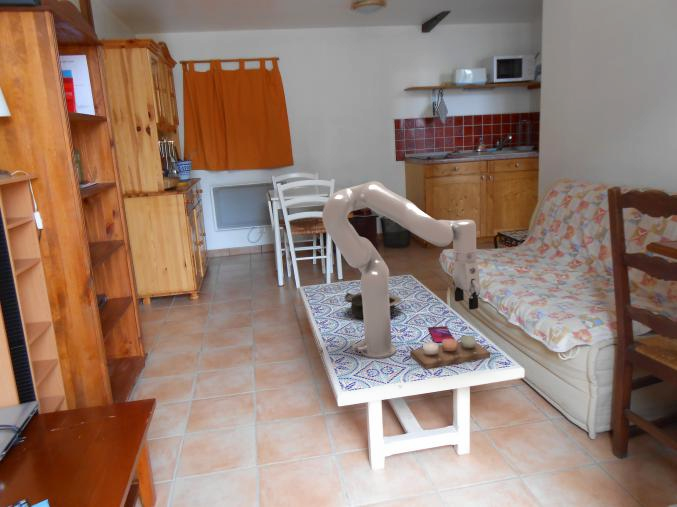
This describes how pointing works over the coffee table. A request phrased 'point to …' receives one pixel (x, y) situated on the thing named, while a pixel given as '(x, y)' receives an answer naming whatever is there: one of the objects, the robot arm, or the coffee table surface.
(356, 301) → the stone bowl
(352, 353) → the coffee table surface
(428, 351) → the off-white button
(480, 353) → the button board
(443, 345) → the terracotta button
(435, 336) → the smartphone
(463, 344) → the sage button
